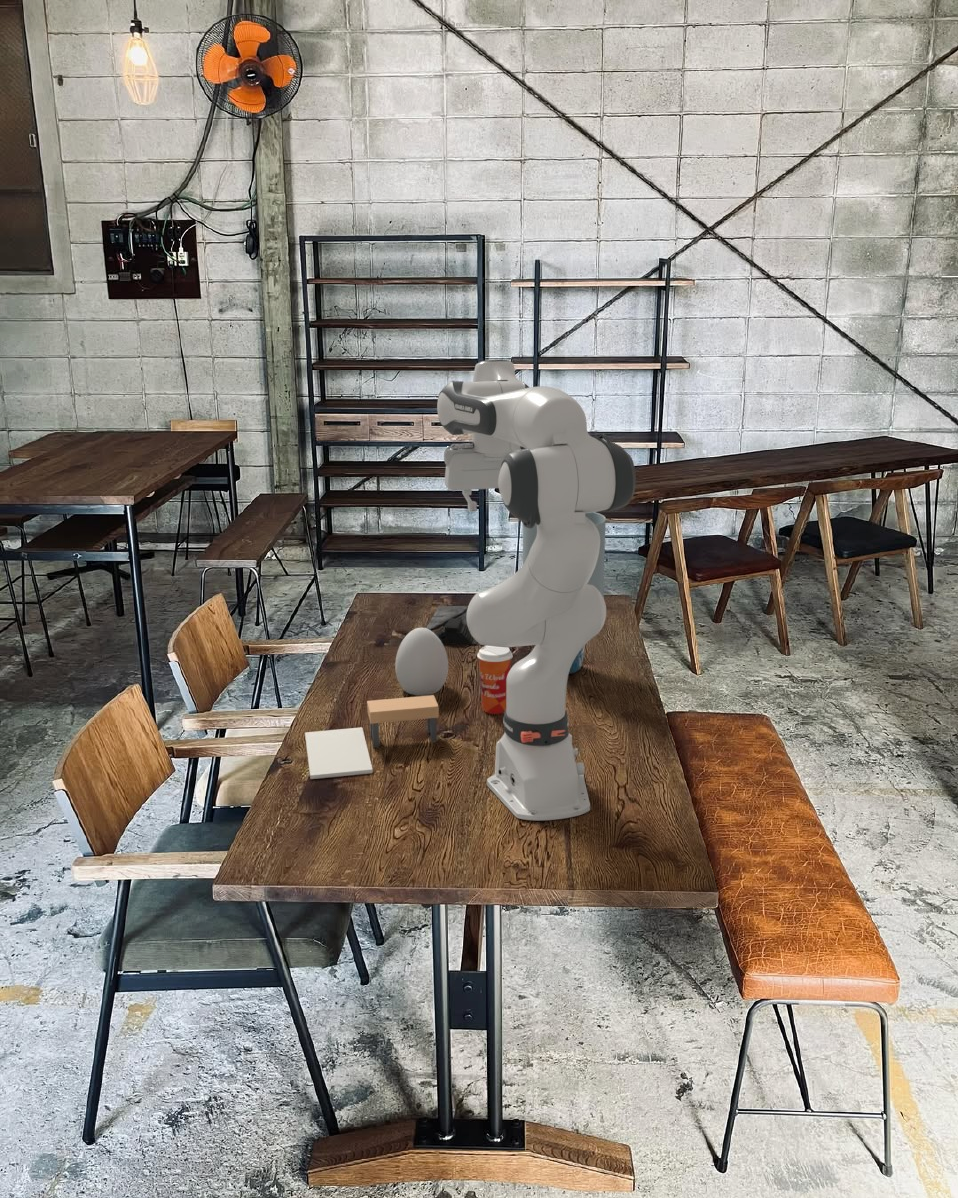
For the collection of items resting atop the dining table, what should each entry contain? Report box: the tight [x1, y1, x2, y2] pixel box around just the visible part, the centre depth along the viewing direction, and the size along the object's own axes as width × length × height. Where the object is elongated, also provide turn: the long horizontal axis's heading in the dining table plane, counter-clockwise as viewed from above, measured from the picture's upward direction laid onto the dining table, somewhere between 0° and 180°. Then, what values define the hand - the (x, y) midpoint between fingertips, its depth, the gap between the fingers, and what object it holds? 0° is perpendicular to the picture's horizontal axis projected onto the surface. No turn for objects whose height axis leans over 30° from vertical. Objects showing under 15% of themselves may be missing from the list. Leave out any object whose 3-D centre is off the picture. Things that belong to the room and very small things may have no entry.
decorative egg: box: [394, 627, 449, 696], centre depth 244 cm, size 12×12×15 cm
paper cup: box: [476, 645, 513, 715], centre depth 233 cm, size 8×8×14 cm
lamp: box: [522, 512, 607, 675], centre depth 252 cm, size 19×19×38 cm
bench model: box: [366, 694, 440, 749], centre depth 219 cm, size 14×6×8 cm, turn 102°
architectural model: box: [425, 605, 482, 646], centre depth 288 cm, size 17×6×30 cm
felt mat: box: [304, 726, 374, 780], centre depth 214 cm, size 20×12×1 cm, turn 12°
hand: (494, 509), depth 216 cm, fingers open, 8 cm apart
